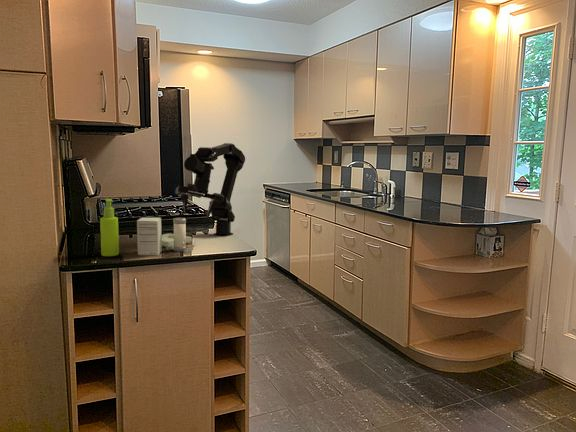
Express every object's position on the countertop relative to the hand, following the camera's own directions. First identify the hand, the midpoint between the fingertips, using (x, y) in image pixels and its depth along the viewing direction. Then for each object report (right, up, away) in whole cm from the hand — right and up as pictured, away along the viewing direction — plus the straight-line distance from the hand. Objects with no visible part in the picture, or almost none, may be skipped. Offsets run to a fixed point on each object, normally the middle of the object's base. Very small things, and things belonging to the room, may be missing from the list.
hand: (196, 215), depth 180 cm
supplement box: (-14, -14, -16) cm, 25 cm away
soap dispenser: (-27, -14, -20) cm, 36 cm away
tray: (-12, -11, +2) cm, 16 cm away
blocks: (-3, -13, -8) cm, 15 cm away
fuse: (-4, -13, -10) cm, 17 cm away
